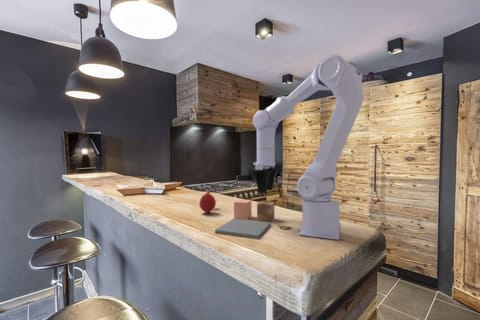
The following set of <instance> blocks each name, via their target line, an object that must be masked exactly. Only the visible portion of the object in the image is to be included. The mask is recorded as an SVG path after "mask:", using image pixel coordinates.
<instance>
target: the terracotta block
mask: <svg viewBox="0 0 480 320" xmlns="http://www.w3.org/2000/svg"><path fill="white" fill-rule="evenodd" d="M252 216H253V215H252V200H251V199H248V200H247V199H238V200H235V201H233V219H242V220H245V219H247V220H248V218H249V219H250V218H252Z"/></svg>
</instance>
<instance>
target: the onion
mask: <svg viewBox="0 0 480 320" xmlns="http://www.w3.org/2000/svg"><path fill="white" fill-rule="evenodd" d="M216 204H217V202H216V198H215V197H214V196H213V195H212V194H211V192H210V191H209V190H207V191H206V192H205V193H204V194H203V195H202V196H201V198H200V200H199V207H200V210H202V211H203V212H205V213H206V214H210V213H211V212H212V211H213V210H214V209H215V208H216Z"/></svg>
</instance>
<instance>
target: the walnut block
mask: <svg viewBox="0 0 480 320" xmlns="http://www.w3.org/2000/svg"><path fill="white" fill-rule="evenodd" d="M274 220H275V201H263V200H261V201H259V202H257V204H256V221H260V222H269V223H272V222H273V221H274Z"/></svg>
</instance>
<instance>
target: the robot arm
mask: <svg viewBox="0 0 480 320" xmlns="http://www.w3.org/2000/svg"><path fill="white" fill-rule="evenodd" d="M363 77H364V75H362V73H361V71H360V70H359V69H358V67H356V66H355V65H352V64H351V63H349V62H348V61H346V60H345V59H344V58H343V57H342V56H340V55H339V54H332V55H329V56H327V57H326V58H324V59H323V60H322V61H321V63H319V64H317V65H316V66H314V69H313V71H312V73H311V74H310V75H309V76H308V77H307V78H305V80H303V81H302V82H301V83H300V84H299V85H298V86H297V87H296V88H295V89H294V90H293V91H292V92H290V94H288V95H287V96H285V95H282V96H278V97H277V98H276V99H275V101H274V102H272V103H271V105H269V106H267V107H266V108H265V109H263V110H262V109H260V110H257V111H256V113H254V116H253V117H252V125H253V127H254V128H255V129H256V162H253V163H252V164H253V166H255V169H252V170H251V173H252V175H253V177H254V179H255V183H256V186H257V190H258V191H257V192H258V194H266V193H267V191H273V189H274V187H273V186H274V183H275V178H276V175H277V173H278V171H279V168H275V166H276V162H275V157H276V156H275V155H276V153H275V150H276V149H275V148H276V147H275V140H276V139H275V137H276V136H275V135H276V131H277V130H276V129H277V128H278V126H279V123H280V122H281V121H282V120H284V119H285V118H287V117H288V116H290V115H291V114H292V113H294V110H295V106H296V105H298V104H300V103H301V102H302V101H304V100H306V99H308V98H309V97H311V96H312V95H313V94H315V93H316V92H318V91H331V93H332V94H333V96H334V98H335V100H336V104H335V106H334V109H333V111H332V114H331V117H330V119H329V121H328V124H327V127H326V130H325V131H324V134H323V137H322V139H321V142H320V145H319V146H318V150H317V153H316V154H315V158H314V160H313V161H312V163H310V165H308V166H307V167H306V169H305V171H304V173H303V174H302V176H301V177H299V179H298V180H297V181H296V189H297V192H298V194H299V196H301V200H302V201H301V206H302V209H301V211H302V214H301V215H302V218H301V219H302V220H301V221H302V226H301V228H300V231H299V233H298V235H299V236H306V237H313V238H322V239H329V240H331V239H332V240H340V231H341V229H342V228H341V227H342V225H341V224H342V223H341V222H340V201H339V200H333V199H332V194H333V193H334V192H335V189H336V178H337V175H338V173H337V170H336V167H337V164H338V162H339V160H340V157H341V155H342V152H343V150H344V148H345V145H346V143H347V140H348V138H349V136H350V133H351V131H352V129H353V127H354V124H355V121H356V119H357V117H358V115H359V111H360V110H361V107H362V105H363V102H364V101H365V95H364V88H363V81H362V79H363Z"/></svg>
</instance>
